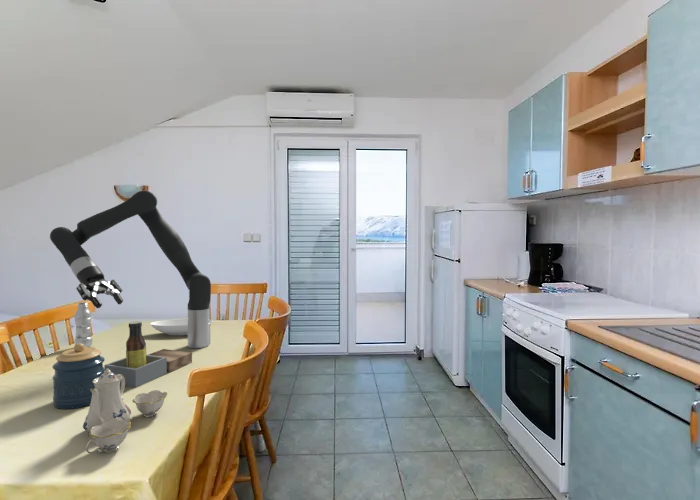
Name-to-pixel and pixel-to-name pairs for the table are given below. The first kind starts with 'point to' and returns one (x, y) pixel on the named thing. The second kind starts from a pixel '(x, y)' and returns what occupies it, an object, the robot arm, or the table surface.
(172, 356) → the block
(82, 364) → the canister
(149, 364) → the tub
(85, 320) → the plastic bottle
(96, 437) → the chinaware
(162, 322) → the bowl
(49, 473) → the table surface
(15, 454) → the table surface
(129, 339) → the sauce bottle
